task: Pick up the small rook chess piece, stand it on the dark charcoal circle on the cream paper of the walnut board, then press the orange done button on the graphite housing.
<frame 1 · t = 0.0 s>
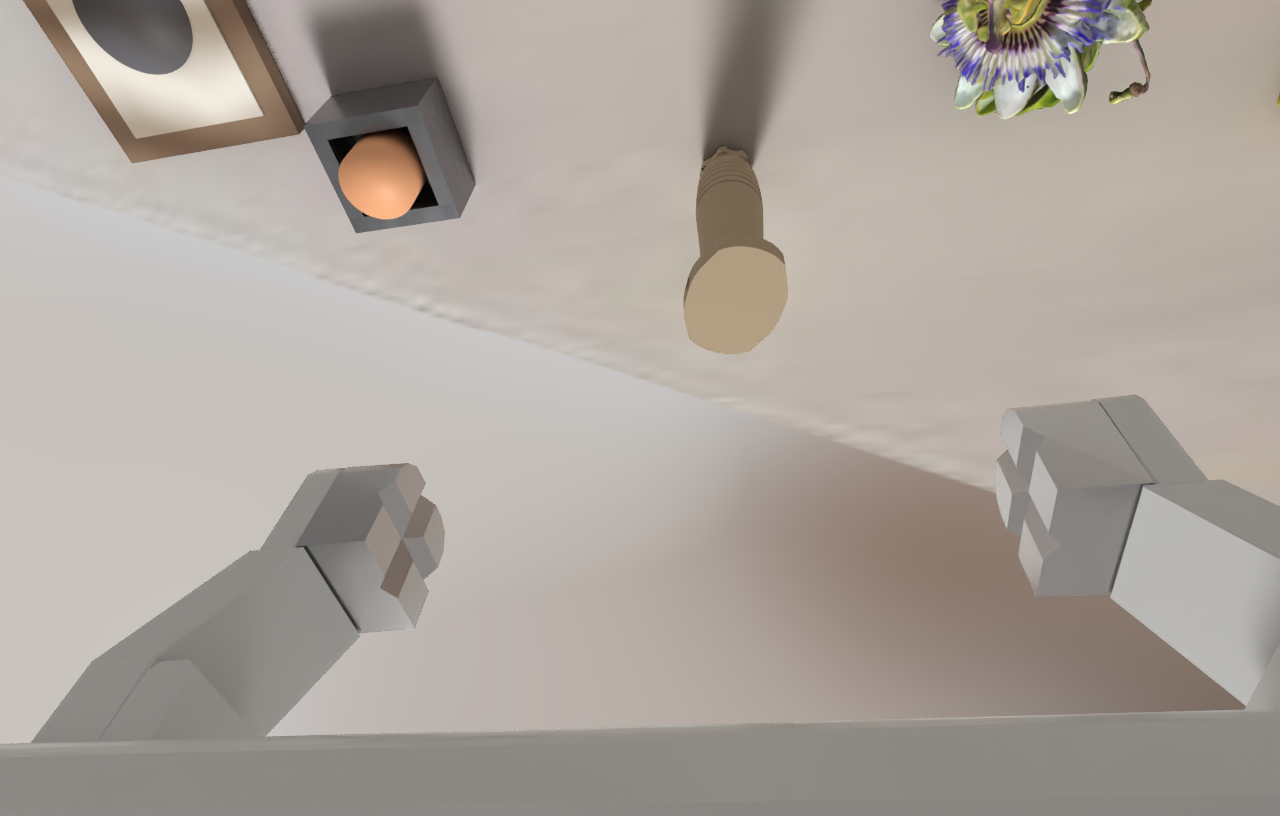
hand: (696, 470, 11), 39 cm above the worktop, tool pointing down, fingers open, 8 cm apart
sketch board: (146, 8, 44), on the worktop
handle: (726, 166, 48), on the worktop
done button: (384, 173, 45), point 4 cm above the worktop, slide at 0.0 cm
button housing: (406, 142, 48), on the worktop
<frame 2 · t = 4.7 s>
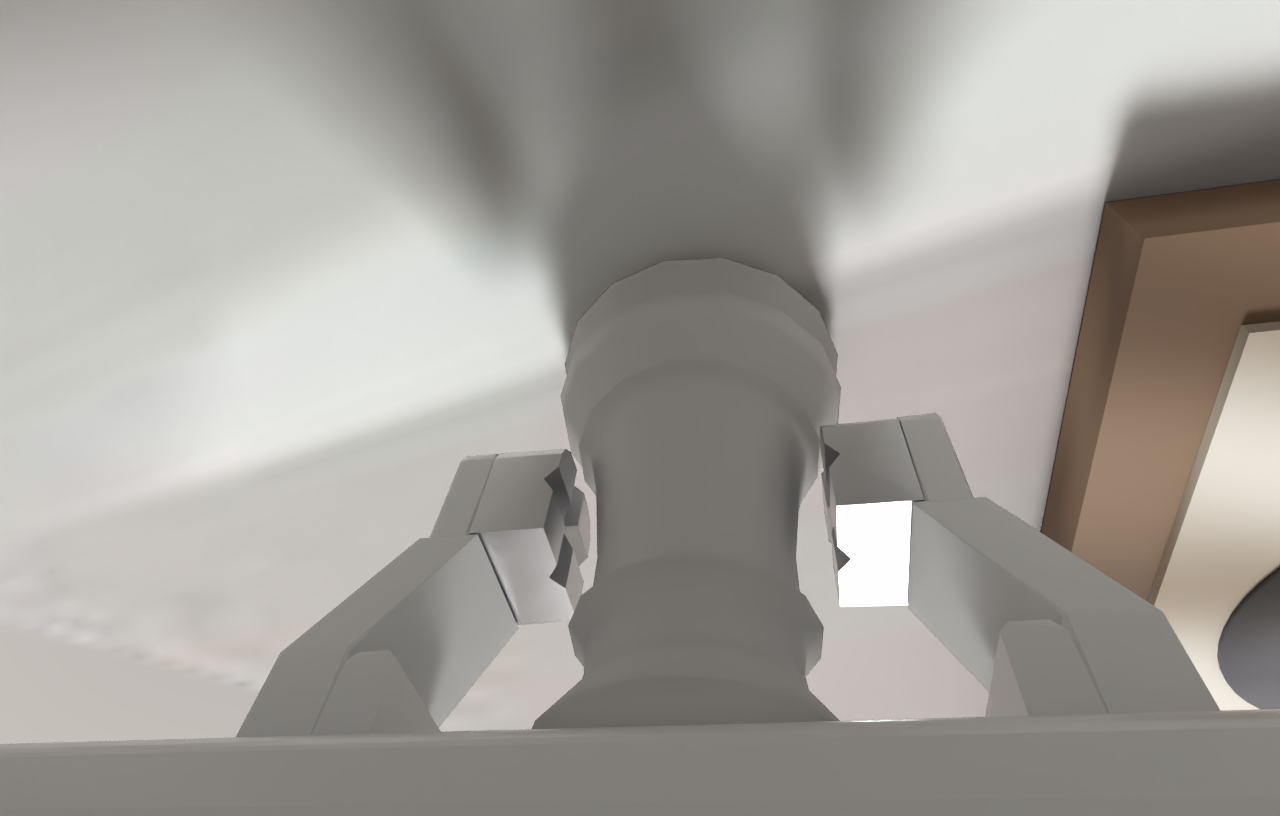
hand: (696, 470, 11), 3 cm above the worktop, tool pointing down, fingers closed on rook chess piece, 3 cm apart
rook chess piece: (700, 358, 13), on the worktop, touching gripper
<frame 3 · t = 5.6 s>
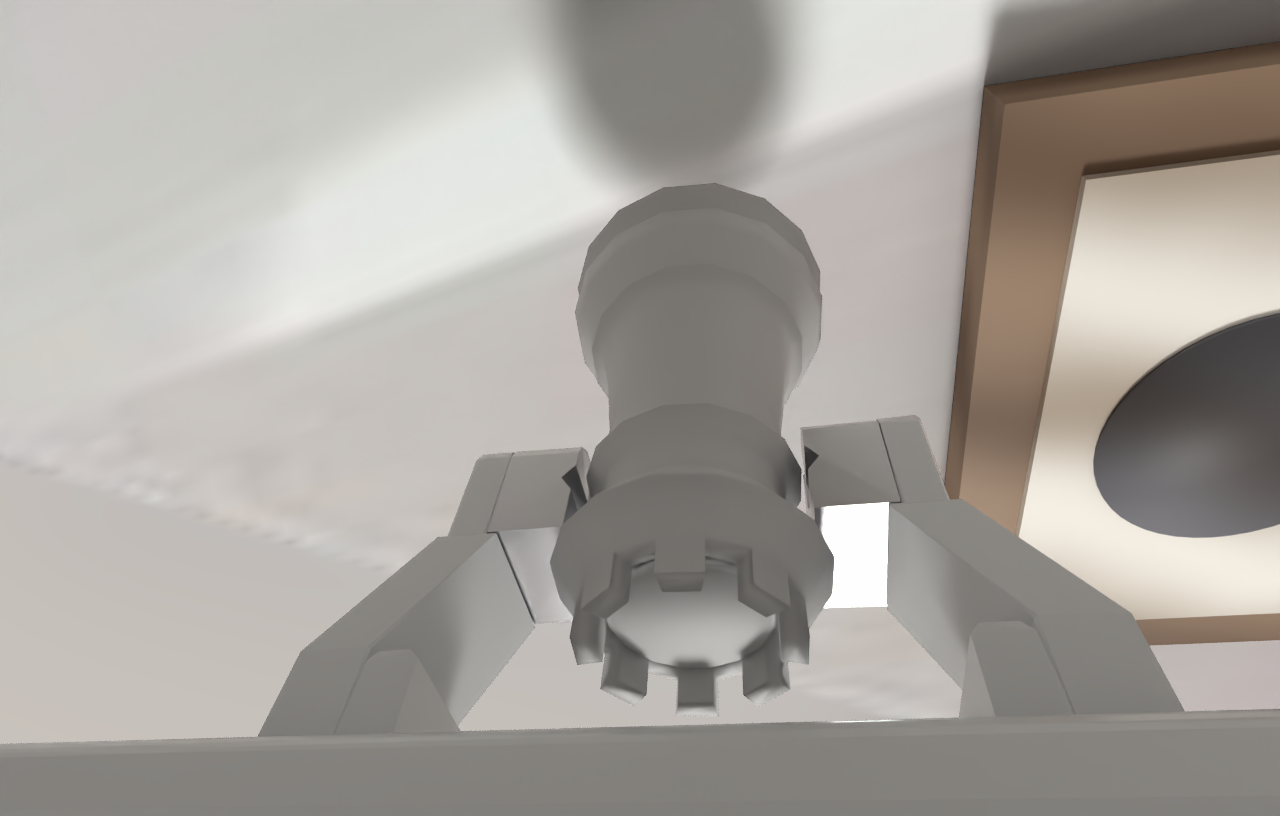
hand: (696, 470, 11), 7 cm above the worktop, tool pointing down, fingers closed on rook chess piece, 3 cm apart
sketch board: (1216, 397, 18), on the worktop
rook chess piece: (698, 283, 14), point 2 cm above the worktop, touching gripper
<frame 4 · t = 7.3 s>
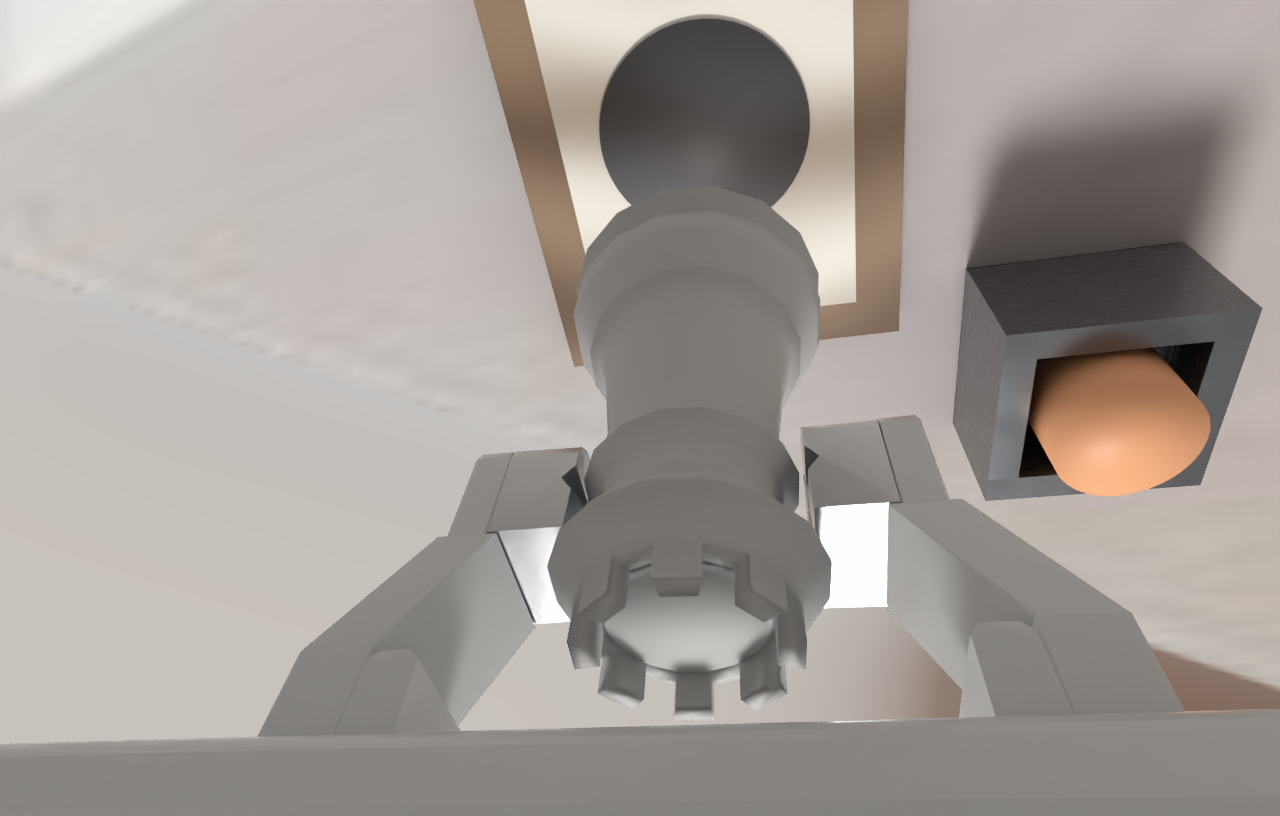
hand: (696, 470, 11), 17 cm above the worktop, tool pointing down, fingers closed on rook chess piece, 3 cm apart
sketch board: (703, 120, 24), on the worktop
rook chess piece: (697, 285, 14), point 12 cm above the worktop, touching gripper
done button: (1109, 414, 24), point 4 cm above the worktop, slide at 0.0 cm
button housing: (1057, 341, 28), on the worktop
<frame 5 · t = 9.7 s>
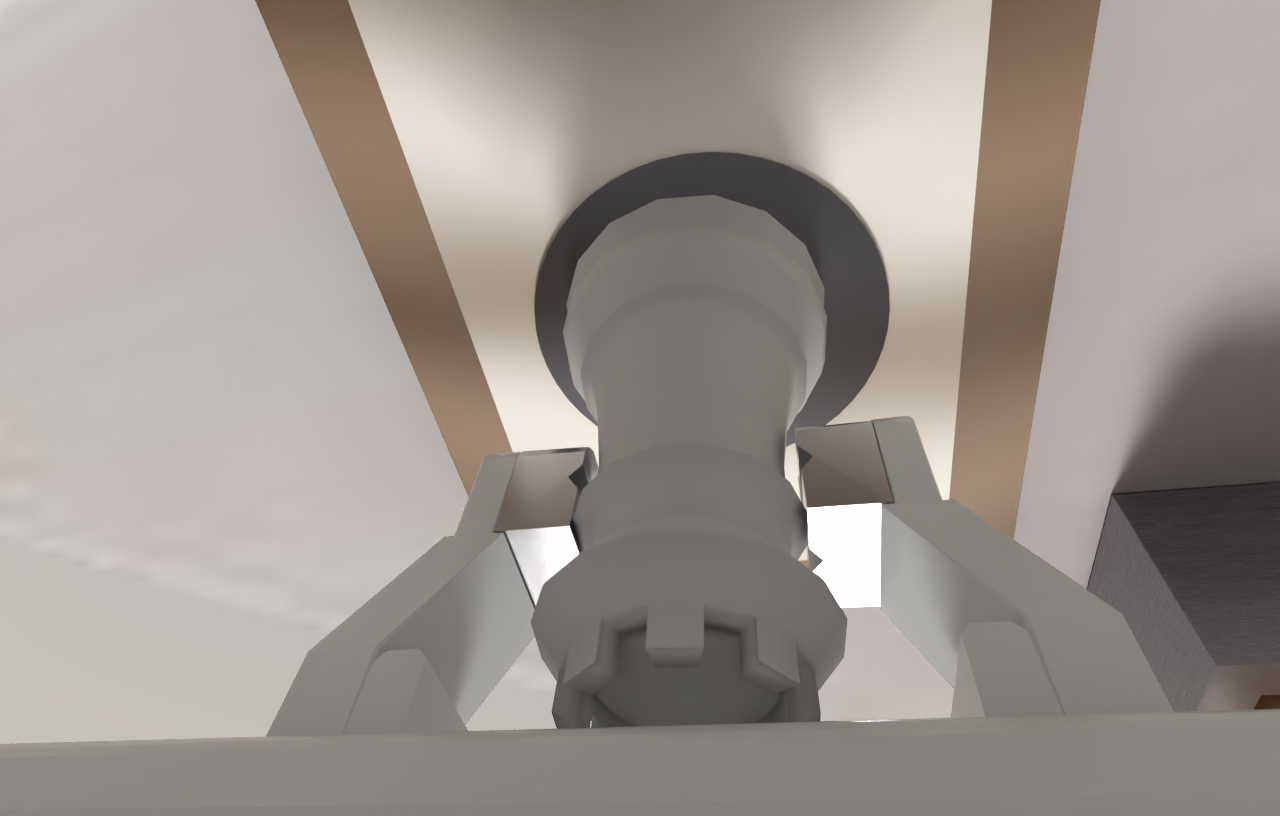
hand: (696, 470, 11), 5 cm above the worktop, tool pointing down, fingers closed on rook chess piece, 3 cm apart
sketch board: (708, 290, 15), on the worktop
rook chess piece: (694, 299, 14), point 1 cm above the worktop, touching gripper, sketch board
button housing: (1238, 585, 19), on the worktop
when the fingers open (5 cm above the worktop, at t = 9.7 s): rook chess piece stays where it is, resting on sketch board.
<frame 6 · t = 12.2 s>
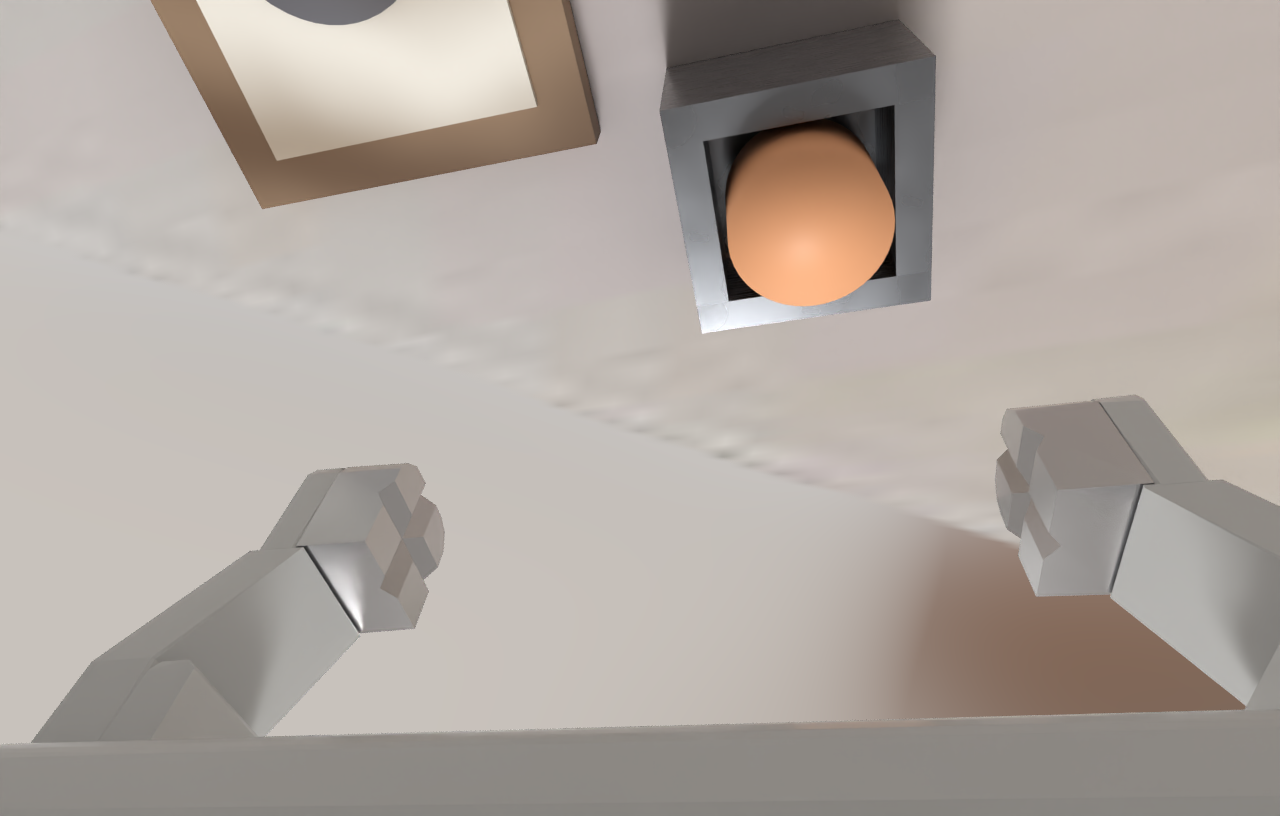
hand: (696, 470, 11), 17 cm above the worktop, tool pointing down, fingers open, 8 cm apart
done button: (804, 212, 21), point 4 cm above the worktop, slide at 0.0 cm
button housing: (790, 157, 25), on the worktop
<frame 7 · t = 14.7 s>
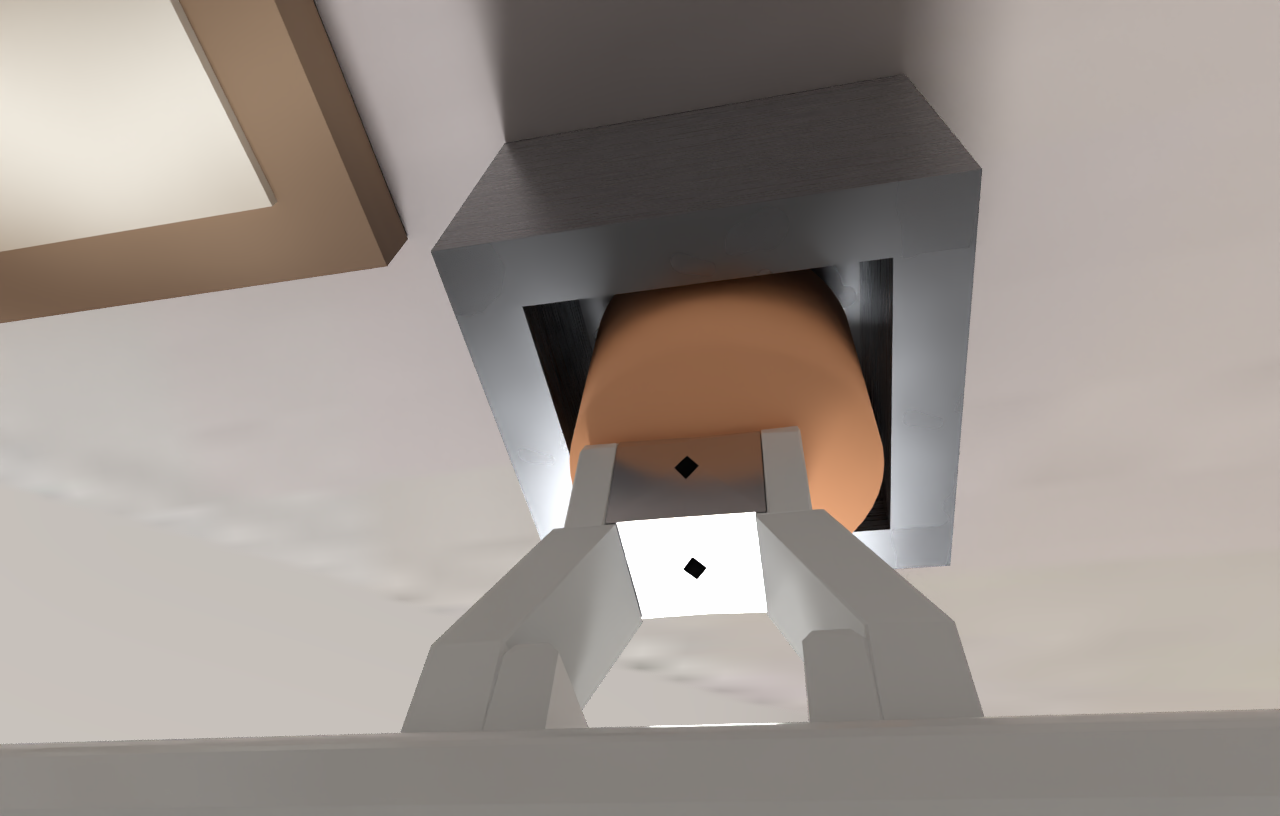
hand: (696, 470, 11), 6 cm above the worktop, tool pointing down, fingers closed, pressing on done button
done button: (722, 412, 12), point 4 cm above the worktop, slide at 0.4 cm, touching gripper
button housing: (720, 288, 15), on the worktop
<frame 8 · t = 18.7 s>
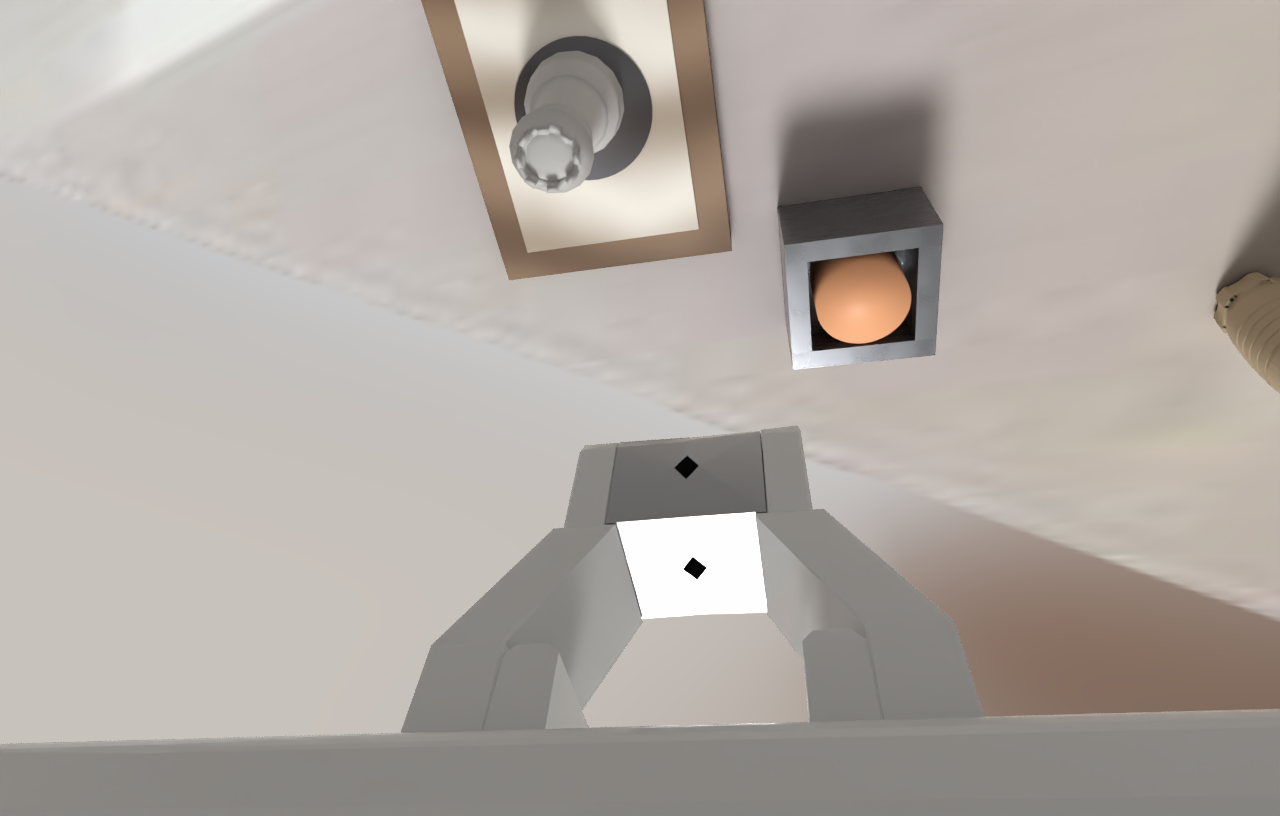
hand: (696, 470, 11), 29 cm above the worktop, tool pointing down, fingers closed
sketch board: (587, 103, 36), on the worktop
handle: (1241, 295, 39), on the worktop
rook chess piece: (577, 99, 34), point 1 cm above the worktop, touching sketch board
done button: (858, 289, 37), point 3 cm above the worktop, slide at 1.3 cm
button housing: (849, 260, 40), on the worktop
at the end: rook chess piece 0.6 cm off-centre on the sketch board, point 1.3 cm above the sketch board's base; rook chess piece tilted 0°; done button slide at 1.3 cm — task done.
